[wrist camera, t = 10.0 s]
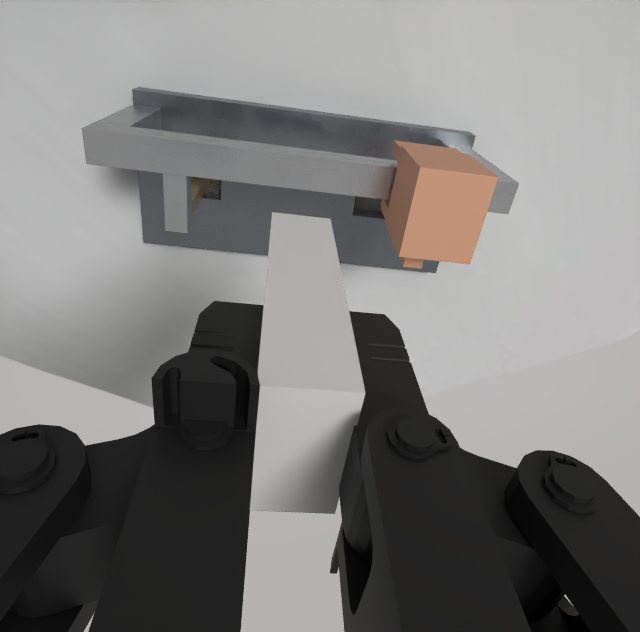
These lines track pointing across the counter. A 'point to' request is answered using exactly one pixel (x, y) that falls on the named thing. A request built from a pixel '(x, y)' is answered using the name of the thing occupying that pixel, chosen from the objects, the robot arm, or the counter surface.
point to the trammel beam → (242, 164)
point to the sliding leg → (436, 203)
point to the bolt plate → (260, 200)
